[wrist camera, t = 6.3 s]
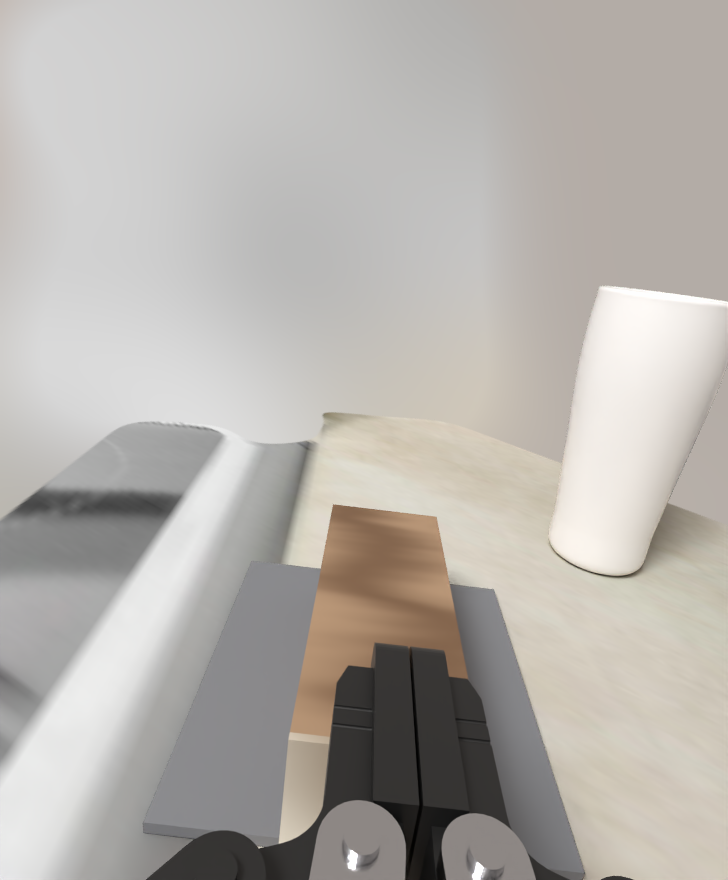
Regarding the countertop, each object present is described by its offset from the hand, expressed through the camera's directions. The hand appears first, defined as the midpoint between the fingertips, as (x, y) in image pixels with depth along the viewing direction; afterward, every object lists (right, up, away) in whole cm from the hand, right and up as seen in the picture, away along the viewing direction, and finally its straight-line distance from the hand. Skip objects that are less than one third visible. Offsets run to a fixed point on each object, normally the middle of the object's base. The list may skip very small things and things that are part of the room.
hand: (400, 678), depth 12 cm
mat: (-1, -4, +9) cm, 10 cm away
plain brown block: (0, -4, +1) cm, 4 cm away
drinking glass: (+13, -2, +21) cm, 24 cm away
